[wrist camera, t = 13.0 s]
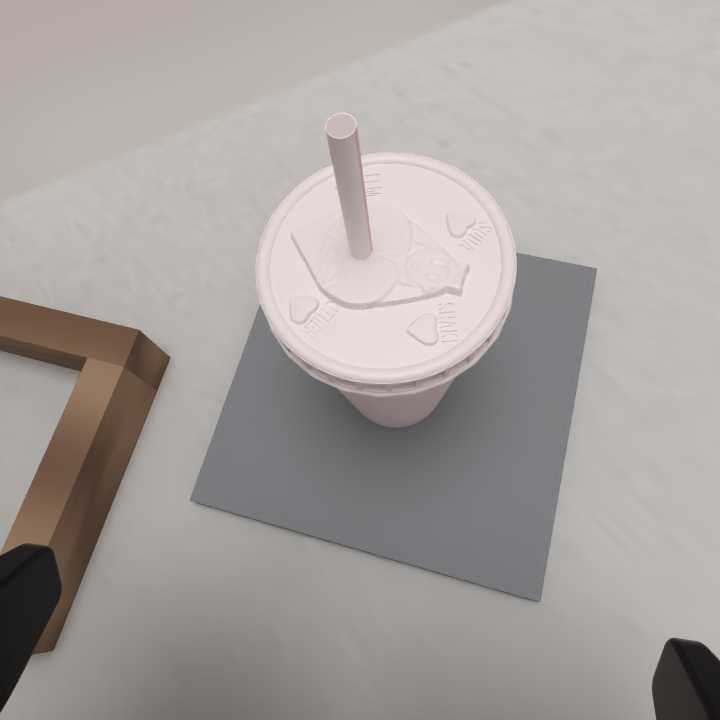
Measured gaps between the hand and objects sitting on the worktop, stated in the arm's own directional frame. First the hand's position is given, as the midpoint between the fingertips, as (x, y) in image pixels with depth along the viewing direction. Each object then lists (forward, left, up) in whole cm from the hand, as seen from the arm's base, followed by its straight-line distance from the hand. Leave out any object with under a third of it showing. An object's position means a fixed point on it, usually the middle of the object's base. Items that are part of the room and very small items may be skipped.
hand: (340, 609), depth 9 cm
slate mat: (+8, +1, -14) cm, 16 cm away
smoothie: (+7, +2, -13) cm, 15 cm away
